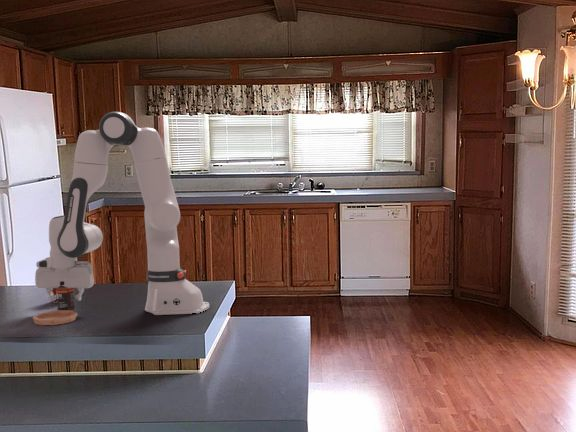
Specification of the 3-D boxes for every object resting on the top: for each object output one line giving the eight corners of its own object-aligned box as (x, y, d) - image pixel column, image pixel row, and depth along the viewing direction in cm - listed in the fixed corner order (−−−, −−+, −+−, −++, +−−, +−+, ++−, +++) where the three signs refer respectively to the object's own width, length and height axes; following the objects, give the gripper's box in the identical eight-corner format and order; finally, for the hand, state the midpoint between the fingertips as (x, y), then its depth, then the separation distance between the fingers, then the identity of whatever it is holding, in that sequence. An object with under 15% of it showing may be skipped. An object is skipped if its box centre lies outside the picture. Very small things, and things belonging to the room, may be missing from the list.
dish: (82, 315, 208) (82, 310, 208) (64, 325, 195) (64, 320, 195) (46, 315, 209) (46, 310, 209) (26, 325, 196) (25, 319, 196)
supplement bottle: (75, 309, 217) (74, 278, 216) (74, 313, 212) (73, 281, 211) (58, 310, 216) (56, 279, 215) (56, 314, 210) (54, 282, 209)
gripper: (96, 259, 214) (97, 298, 215) (41, 259, 217) (43, 298, 218) (88, 262, 208) (90, 302, 209) (31, 262, 210) (33, 302, 211)
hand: (65, 300), depth 213 cm, fingers open, 8 cm apart
